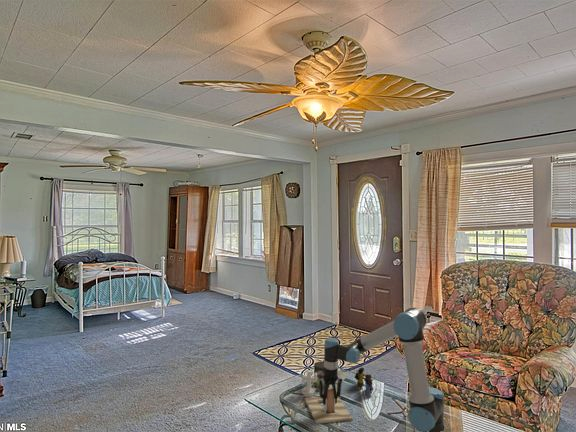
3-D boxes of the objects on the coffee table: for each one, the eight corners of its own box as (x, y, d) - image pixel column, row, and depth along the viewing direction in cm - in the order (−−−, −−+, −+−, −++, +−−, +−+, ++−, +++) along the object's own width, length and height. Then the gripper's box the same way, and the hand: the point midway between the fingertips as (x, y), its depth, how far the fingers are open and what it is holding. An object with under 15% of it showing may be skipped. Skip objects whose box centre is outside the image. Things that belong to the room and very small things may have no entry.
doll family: (381, 398, 227) (382, 376, 227) (369, 401, 223) (370, 378, 223) (360, 381, 248) (360, 361, 248) (348, 383, 245) (348, 363, 244)
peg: (334, 412, 207) (334, 391, 207) (327, 413, 206) (327, 391, 206) (331, 409, 211) (332, 387, 211) (324, 409, 210) (325, 388, 210)
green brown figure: (328, 392, 233) (328, 369, 232) (311, 389, 236) (312, 366, 236) (331, 384, 243) (331, 362, 242) (315, 382, 246) (316, 360, 245)
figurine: (303, 391, 233) (304, 367, 232) (318, 394, 229) (318, 370, 229) (299, 396, 226) (300, 371, 226) (314, 400, 222) (315, 374, 222)
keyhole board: (352, 420, 202) (352, 417, 202) (316, 423, 198) (316, 421, 198) (337, 398, 226) (337, 395, 226) (304, 400, 221) (304, 398, 221)
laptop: (339, 385, 243) (340, 364, 243) (322, 380, 249) (322, 360, 249) (349, 374, 259) (350, 355, 258) (332, 370, 265) (333, 351, 265)
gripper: (342, 363, 214) (341, 404, 214) (313, 365, 210) (312, 407, 210) (347, 369, 206) (346, 411, 207) (317, 371, 203) (316, 414, 203)
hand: (329, 409), depth 209 cm, fingers closed on peg, 4 cm apart
